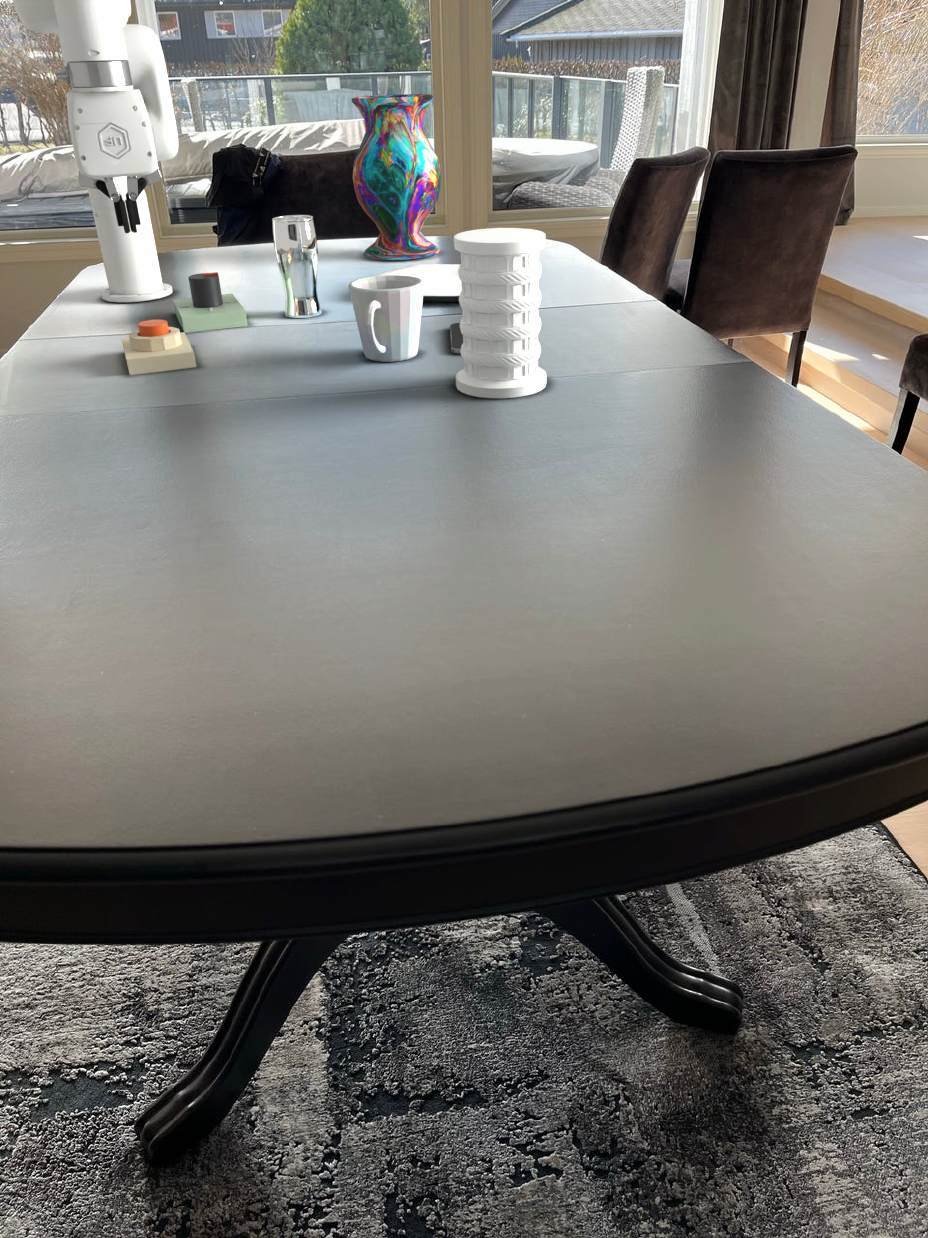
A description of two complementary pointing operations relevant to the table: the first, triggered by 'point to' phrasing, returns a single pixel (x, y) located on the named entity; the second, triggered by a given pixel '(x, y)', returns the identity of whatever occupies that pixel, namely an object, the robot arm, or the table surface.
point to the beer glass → (297, 263)
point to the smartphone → (456, 338)
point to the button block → (158, 352)
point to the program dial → (205, 290)
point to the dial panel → (210, 315)
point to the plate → (434, 280)
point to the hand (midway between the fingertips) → (130, 230)
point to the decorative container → (500, 312)
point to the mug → (388, 315)
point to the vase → (396, 174)
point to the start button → (153, 328)
